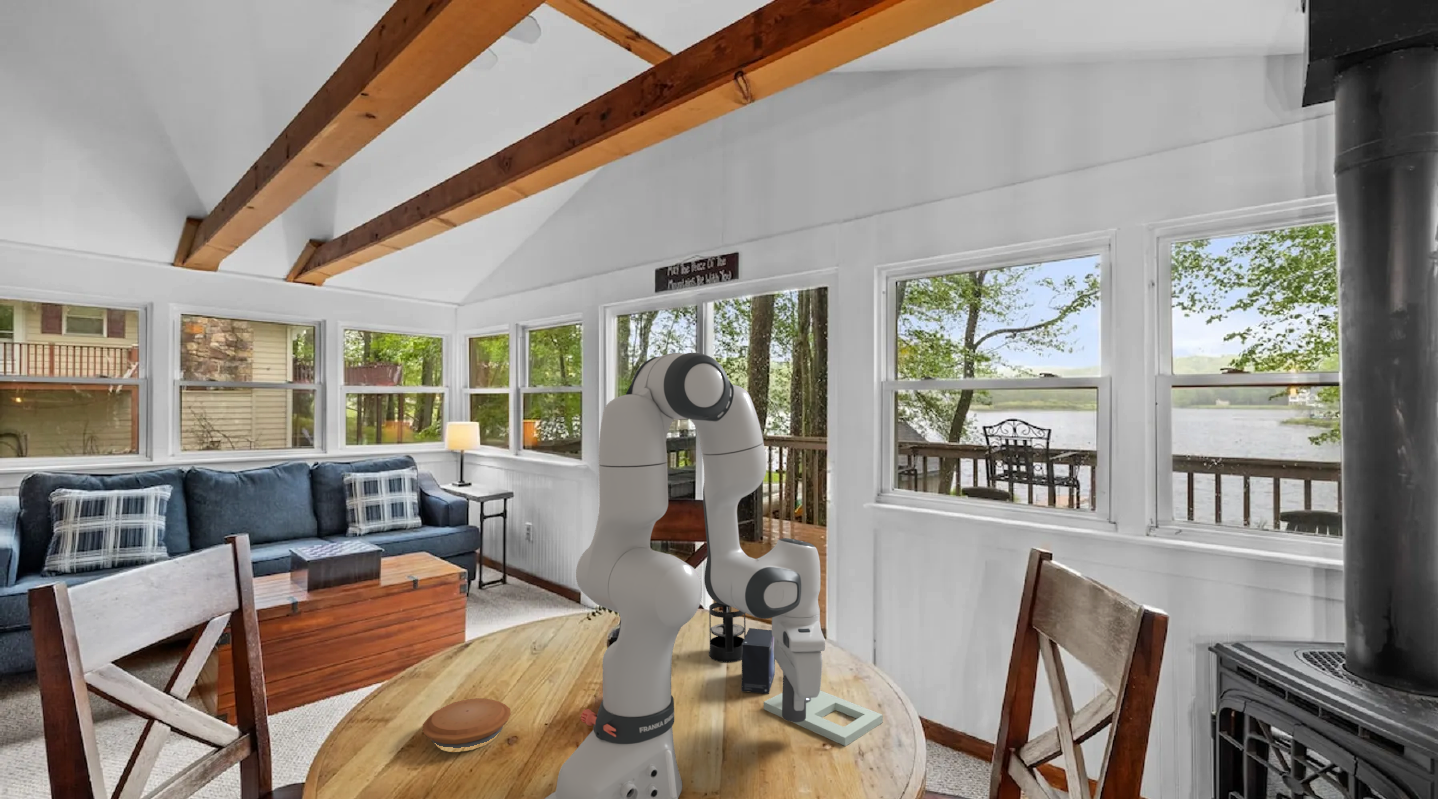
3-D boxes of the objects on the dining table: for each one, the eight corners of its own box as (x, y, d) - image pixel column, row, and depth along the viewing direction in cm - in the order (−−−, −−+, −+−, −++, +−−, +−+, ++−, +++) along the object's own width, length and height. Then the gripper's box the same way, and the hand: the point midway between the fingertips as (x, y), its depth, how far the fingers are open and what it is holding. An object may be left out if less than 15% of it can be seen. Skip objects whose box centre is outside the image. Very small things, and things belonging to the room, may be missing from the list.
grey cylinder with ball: (785, 722, 117) (786, 680, 117) (779, 711, 122) (780, 671, 122) (808, 721, 118) (809, 680, 118) (802, 710, 122) (803, 670, 122)
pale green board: (845, 746, 117) (845, 737, 117) (763, 709, 132) (763, 701, 132) (882, 722, 126) (882, 714, 126) (802, 690, 140) (802, 683, 140)
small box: (770, 695, 138) (770, 645, 138) (740, 692, 139) (740, 643, 140) (776, 674, 148) (775, 628, 149) (748, 672, 150) (747, 627, 150)
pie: (508, 711, 132) (508, 687, 132) (513, 749, 117) (513, 721, 117) (425, 726, 126) (425, 700, 126) (419, 767, 112) (419, 738, 112)
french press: (708, 647, 165) (707, 557, 165) (744, 646, 166) (743, 556, 166) (709, 666, 154) (709, 569, 154) (749, 664, 154) (748, 568, 154)
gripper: (766, 610, 130) (765, 680, 130) (792, 645, 110) (791, 728, 109) (797, 610, 131) (795, 679, 130) (828, 644, 111) (827, 726, 110)
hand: (793, 702), depth 120 cm, fingers closed on grey cylinder with ball, 4 cm apart
